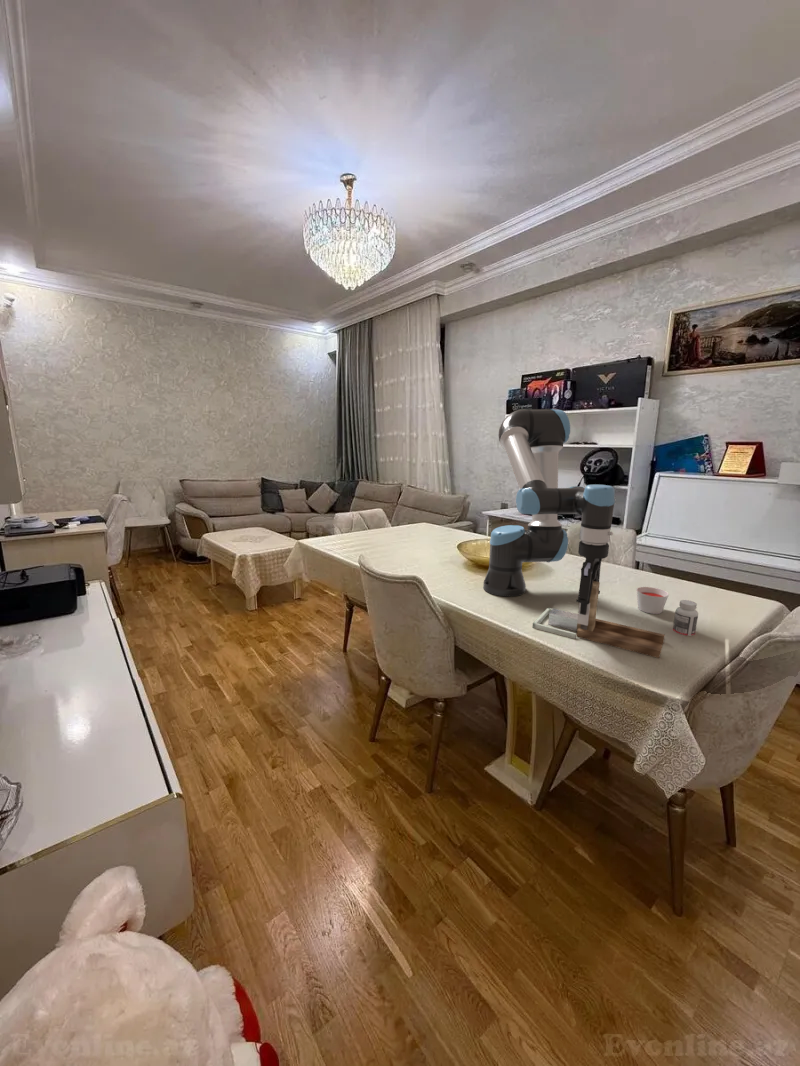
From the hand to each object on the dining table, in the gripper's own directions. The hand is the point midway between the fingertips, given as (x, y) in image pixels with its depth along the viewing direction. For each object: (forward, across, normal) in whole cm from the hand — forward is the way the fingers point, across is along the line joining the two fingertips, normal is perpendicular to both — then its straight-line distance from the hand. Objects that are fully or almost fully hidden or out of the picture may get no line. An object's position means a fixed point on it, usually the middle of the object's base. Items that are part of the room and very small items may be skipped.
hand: (585, 619), depth 123 cm
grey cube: (+4, 0, +8) cm, 9 cm away
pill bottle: (+5, +16, -23) cm, 28 cm away
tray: (+4, 0, +7) cm, 8 cm away
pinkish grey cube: (+4, 0, +4) cm, 5 cm away
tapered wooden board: (+3, 0, 0) cm, 3 cm away
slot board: (+4, 0, -9) cm, 10 cm away
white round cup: (+5, +30, -13) cm, 33 cm away
